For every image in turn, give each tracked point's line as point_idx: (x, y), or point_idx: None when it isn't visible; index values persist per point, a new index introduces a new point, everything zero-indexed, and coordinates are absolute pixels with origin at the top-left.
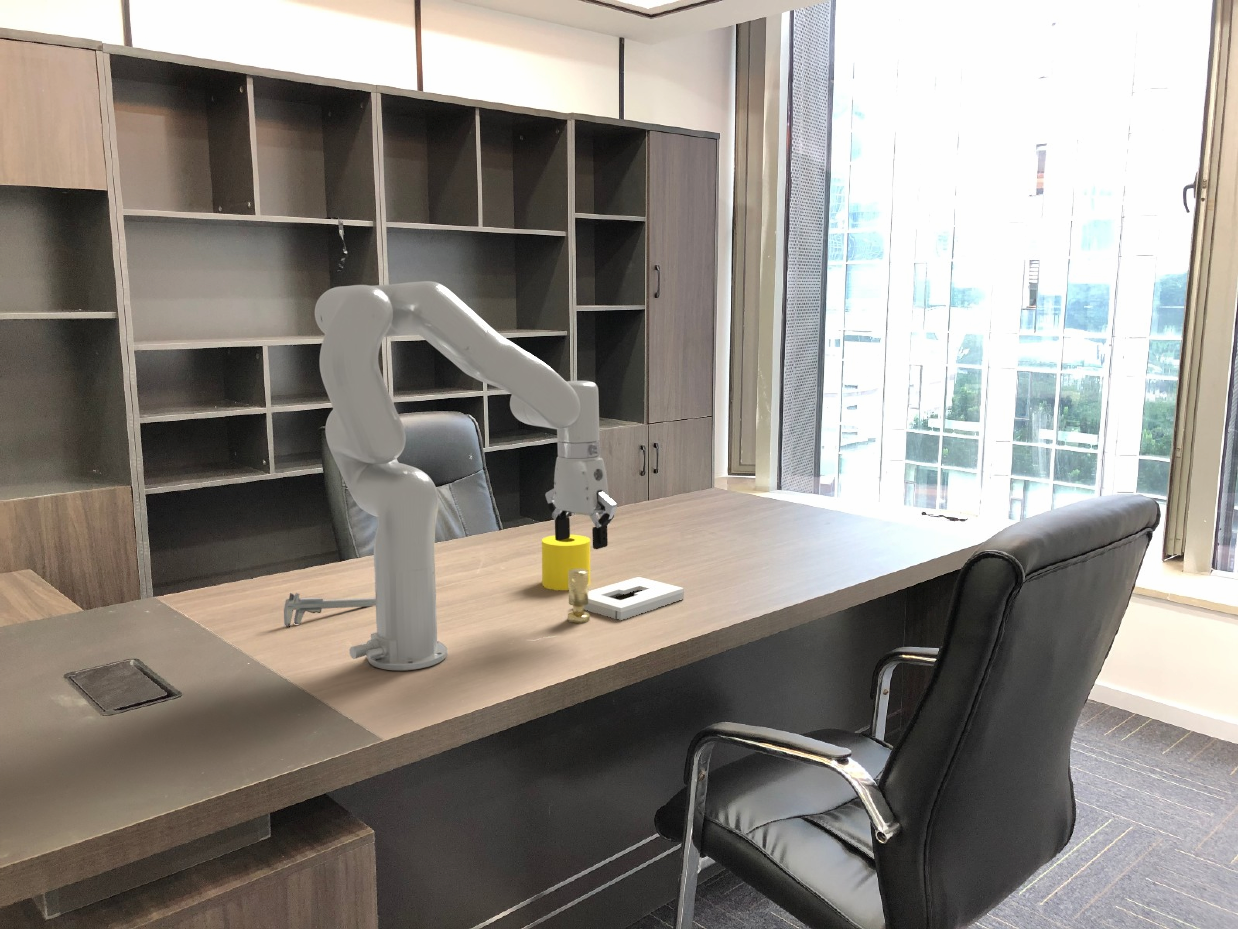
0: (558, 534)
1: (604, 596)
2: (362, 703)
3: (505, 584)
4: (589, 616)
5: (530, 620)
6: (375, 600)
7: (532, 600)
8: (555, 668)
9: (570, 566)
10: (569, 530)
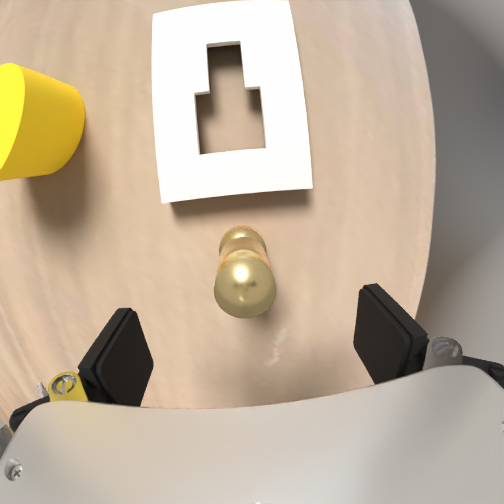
0: (147, 379)
1: (216, 156)
2: None
3: (8, 223)
4: (258, 233)
5: (186, 314)
6: (43, 394)
7: (87, 241)
8: (369, 379)
9: (48, 139)
10: (125, 329)
